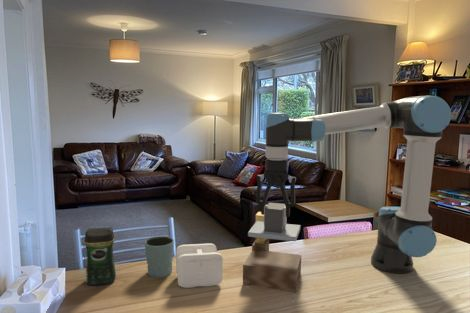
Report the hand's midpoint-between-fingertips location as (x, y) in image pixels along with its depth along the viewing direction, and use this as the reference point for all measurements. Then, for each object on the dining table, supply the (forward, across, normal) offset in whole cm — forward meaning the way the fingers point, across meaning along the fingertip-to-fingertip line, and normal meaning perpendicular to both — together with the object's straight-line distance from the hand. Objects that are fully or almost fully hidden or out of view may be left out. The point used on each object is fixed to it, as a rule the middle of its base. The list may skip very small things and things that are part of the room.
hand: (275, 224), depth 131 cm
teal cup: (+20, +40, +8) cm, 46 cm away
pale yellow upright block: (+11, +7, -13) cm, 19 cm away
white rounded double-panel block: (+20, +24, +10) cm, 33 cm away
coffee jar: (+19, +56, +20) cm, 63 cm away
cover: (+3, 0, 0) cm, 3 cm away
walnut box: (+20, +1, -4) cm, 20 cm away
